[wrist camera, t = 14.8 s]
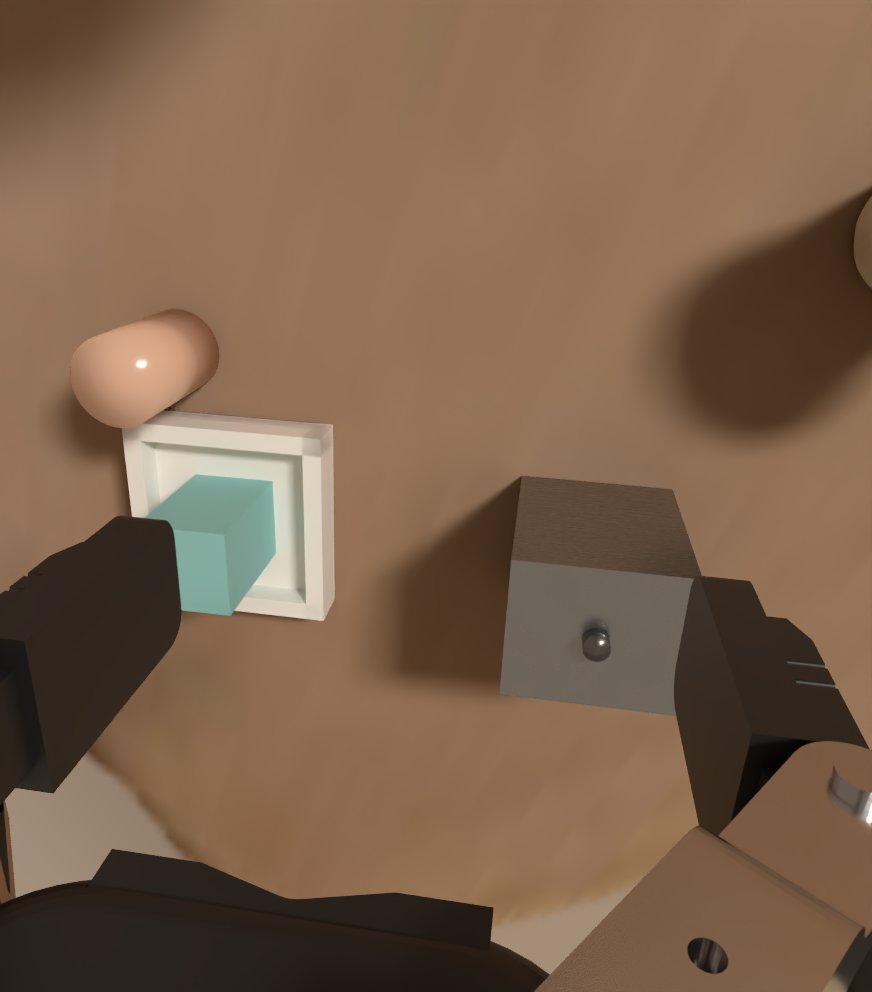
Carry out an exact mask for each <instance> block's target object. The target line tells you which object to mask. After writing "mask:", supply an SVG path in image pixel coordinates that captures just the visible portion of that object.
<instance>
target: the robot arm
mask: <svg viewBox="0 0 872 992" xmlns="http://www.w3.org/2000/svg"><path fill="white" fill-rule="evenodd" d="M180 621H181V598H180V588H179V578H178V567H177V557H176V547H175V537H174V532H173V529H172V526H171V525H170V523H169V522H168V521H166V520H160V519H150V518H140V517H130V516H117V517H115V518H114V519H112V520H111V521H110V522H109V523H107V524H106V525H105V526H104V527H102V528H101V529H100V530H99V531H97V532H96V533H95V534H94V535H92V536H91V537H90V538H88V539H87V540H86V541H85V542H81V543H79V544H76V545H74V546H72V547H69V548H67V549H65V550H62V551H60V552H58V553H55V554H53V555H51V556H49V557H48V558H47V559H45V560H44V561H43V562H41V563H40V564H39V565H38V566H36V567H35V568H34V569H32V570H31V571H30V572H28V576H23V577H22V578H21V579H19V580H18V581H17V582H16V583H14V584H13V585H12V586H10V590H9V591H4V592H3V593H1V594H0V992H872V750H870V749H869V747H868V745H867V744H866V742H865V740H864V738H863V736H862V734H861V732H860V730H859V728H858V726H857V724H856V723H855V721H854V719H853V717H852V715H851V713H850V711H849V709H848V707H847V705H846V703H845V702H844V700H843V698H842V696H841V694H840V692H839V690H838V689H835V683H834V681H833V679H832V677H831V675H830V673H829V671H828V669H825V663H824V662H823V660H822V658H821V656H820V654H819V652H818V650H817V648H816V646H815V644H814V642H813V641H812V640H811V639H810V638H809V637H808V636H807V635H805V634H804V633H803V632H802V631H801V630H799V629H798V628H797V627H796V626H795V625H793V624H792V623H791V622H790V621H789V620H787V619H785V618H776V617H767V616H766V614H765V612H764V610H763V607H762V605H761V603H760V601H759V599H758V596H757V594H756V592H755V590H754V588H753V585H752V584H751V582H750V581H744V580H735V579H725V578H715V577H705V576H696V577H695V578H694V580H693V583H692V586H691V589H690V594H689V599H688V605H687V610H686V615H685V620H684V626H683V631H682V636H681V641H680V647H679V652H678V657H677V663H676V668H675V678H674V705H675V712H676V716H677V721H678V726H679V731H680V736H681V740H682V745H683V750H684V755H685V760H686V765H687V769H688V774H689V779H690V784H691V789H692V793H693V798H694V803H695V808H696V813H697V818H698V822H699V826H697V827H694V828H693V829H692V830H690V831H689V832H688V833H687V834H686V835H685V836H684V837H683V838H682V839H681V840H680V841H679V842H678V843H677V844H676V845H675V846H674V847H673V848H672V849H671V850H670V851H669V852H668V853H667V854H666V855H665V856H664V857H663V858H662V859H661V860H660V861H659V862H658V863H657V865H656V866H655V867H654V868H653V869H652V870H651V871H650V872H649V873H648V874H647V875H646V876H645V877H644V878H643V879H642V880H641V881H640V882H639V883H638V884H637V885H636V886H635V887H634V888H633V889H632V890H631V891H630V893H629V894H628V895H627V896H626V897H625V898H624V899H623V900H622V901H621V902H620V903H619V904H618V905H617V906H616V907H615V908H614V909H613V910H612V911H611V912H610V913H609V914H608V915H607V916H606V917H605V919H603V920H602V922H601V923H600V924H599V925H598V926H597V927H596V928H595V929H594V930H593V931H592V932H591V933H590V934H589V935H588V936H587V937H586V938H585V939H584V940H583V941H582V942H581V943H580V944H579V945H578V946H577V948H575V950H574V951H573V952H572V953H571V954H570V955H569V956H568V957H567V958H566V959H565V960H564V961H563V962H562V963H561V964H560V965H559V966H558V967H557V968H556V969H555V970H554V971H553V972H552V973H551V974H550V975H549V974H548V973H547V972H545V971H544V970H542V969H541V968H540V967H538V966H537V965H536V964H534V963H533V962H531V961H529V960H528V959H526V958H524V957H522V956H520V955H519V954H517V953H515V952H513V951H512V950H510V949H508V948H506V947H503V946H501V945H499V944H496V943H494V942H491V941H490V940H491V929H492V918H493V908H492V907H486V906H479V905H473V904H466V903H460V902H453V901H447V900H440V899H434V898H427V897H421V896H414V895H408V894H401V893H383V894H369V895H354V896H340V897H326V898H312V899H288V898H284V897H281V896H278V895H276V894H273V893H271V892H269V891H266V890H264V889H262V888H259V887H257V886H255V885H252V884H250V883H248V882H245V881H243V880H241V879H238V878H236V877H234V876H231V875H229V874H227V873H224V872H222V871H220V870H217V869H215V868H213V867H210V866H208V865H206V864H203V863H200V862H193V861H187V860H180V859H174V858H167V857H161V856H154V855H147V854H141V853H135V852H128V851H121V850H115V849H112V850H111V852H110V853H109V854H108V856H107V857H106V859H105V861H104V862H103V863H102V865H101V867H100V868H99V870H98V871H97V873H96V874H95V876H94V877H93V879H92V880H87V881H79V882H73V883H67V884H62V885H56V886H53V887H49V888H45V889H41V890H38V891H34V892H31V893H28V894H25V895H23V896H20V897H17V898H16V896H15V885H14V872H13V861H12V850H11V837H10V827H9V826H10V825H9V817H8V812H7V808H6V803H5V799H6V798H7V797H8V796H9V794H10V793H11V792H12V791H13V790H14V788H20V789H27V790H33V791H41V792H47V793H54V792H55V791H56V789H57V788H58V787H59V786H60V784H61V783H62V782H63V781H64V779H65V778H66V777H67V776H68V774H69V773H70V772H71V771H72V770H73V768H74V767H75V766H76V765H77V763H78V762H79V761H80V760H81V758H82V757H83V756H84V755H85V753H86V752H87V751H88V750H89V748H90V747H91V746H92V745H93V743H94V742H95V741H96V740H97V738H98V737H99V736H100V735H101V733H102V732H103V731H104V730H105V729H106V727H107V726H108V725H109V724H110V722H111V721H112V720H113V719H114V717H115V716H116V715H117V714H118V712H119V711H120V710H121V709H122V707H123V706H124V705H125V704H126V702H127V701H128V700H129V699H130V697H131V696H132V695H133V694H134V692H135V691H136V690H137V689H138V687H139V686H140V685H141V684H142V683H143V681H144V680H145V679H146V678H147V676H148V675H149V674H150V673H151V671H152V670H153V669H154V668H155V666H156V665H157V664H158V663H159V661H160V660H161V659H162V658H163V656H164V655H165V654H166V653H167V651H168V650H169V649H170V648H171V646H172V645H173V643H174V641H175V639H176V636H177V634H178V630H179V627H180Z"/></svg>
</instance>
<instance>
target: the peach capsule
mask: <svg viewBox="0 0 872 992" xmlns="http://www.w3.org/2000/svg"><path fill="white" fill-rule="evenodd" d="M218 363H219V348H218V344H217V341H216V338H215V336H214V334H213V332H212V331H211V329H210V328H209V327H208V326H207V324H206V323H205V322H204V321H203V320H201V319H200V318H199V317H197V316H196V315H194V314H192V313H190V312H187V311H184V310H179V309H170V310H165V311H162V312H159V313H157V314H154V315H151V316H149V317H146V318H143V319H141V320H138V321H135V322H133V323H130V324H127V325H125V326H122V327H119V328H117V329H114V330H111V331H109V332H106V333H103V334H101V335H98V336H95V337H93V338H90V339H88V340H86V341H85V342H84V343H82V344H81V345H80V346H79V347H78V349H77V350H76V351H75V353H74V355H73V357H72V360H71V365H70V380H71V385H72V388H73V391H74V393H75V396H76V398H77V399H78V401H79V403H80V404H81V405H82V407H83V408H84V409H85V410H86V411H87V412H88V413H89V414H90V415H91V416H92V417H94V418H95V419H97V420H98V421H100V422H102V423H104V424H106V425H109V426H113V427H118V428H130V427H134V426H138V425H140V424H142V423H144V422H145V421H147V420H148V419H150V418H152V417H153V416H155V415H156V414H158V413H160V412H161V411H163V410H164V409H166V408H168V407H169V406H171V405H172V404H174V403H176V402H177V401H179V400H180V399H182V398H184V397H185V396H187V395H188V394H190V393H192V392H193V391H195V390H196V389H198V388H200V387H201V386H203V385H204V384H206V383H207V382H208V381H209V380H210V379H211V378H212V377H213V375H214V374H215V372H216V370H217V367H218Z"/></svg>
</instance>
